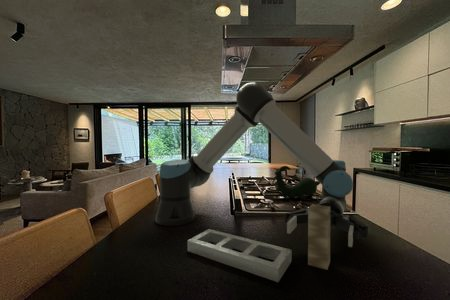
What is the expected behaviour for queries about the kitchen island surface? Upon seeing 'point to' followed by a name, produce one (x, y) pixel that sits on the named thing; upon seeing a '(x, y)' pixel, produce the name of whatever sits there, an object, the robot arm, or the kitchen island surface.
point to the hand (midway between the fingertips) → (317, 234)
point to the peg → (319, 236)
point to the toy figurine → (303, 188)
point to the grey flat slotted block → (244, 259)
